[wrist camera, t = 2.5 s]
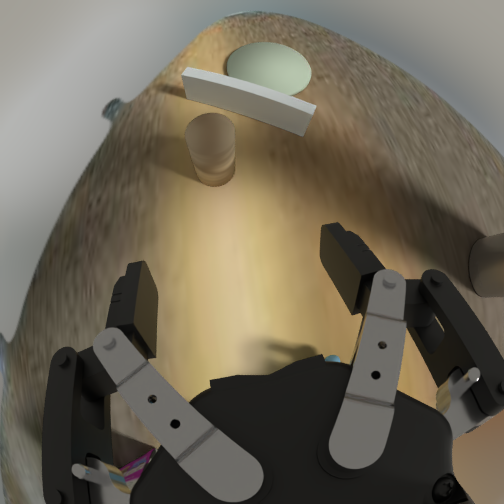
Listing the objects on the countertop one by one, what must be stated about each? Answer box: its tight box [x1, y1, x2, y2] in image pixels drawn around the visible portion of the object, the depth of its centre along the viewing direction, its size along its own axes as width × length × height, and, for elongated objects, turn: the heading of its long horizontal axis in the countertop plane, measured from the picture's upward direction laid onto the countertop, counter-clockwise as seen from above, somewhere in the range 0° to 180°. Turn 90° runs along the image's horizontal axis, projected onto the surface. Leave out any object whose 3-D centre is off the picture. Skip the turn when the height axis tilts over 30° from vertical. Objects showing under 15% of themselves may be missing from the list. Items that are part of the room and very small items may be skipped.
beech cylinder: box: [185, 113, 235, 187], centre depth 27 cm, size 4×4×8 cm
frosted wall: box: [181, 67, 316, 137], centre depth 30 cm, size 16×2×5 cm, turn 68°
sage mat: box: [227, 42, 311, 96], centre depth 33 cm, size 12×12×1 cm
